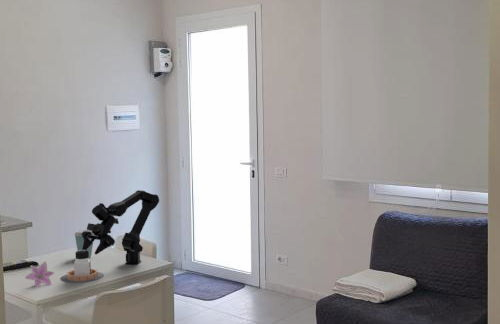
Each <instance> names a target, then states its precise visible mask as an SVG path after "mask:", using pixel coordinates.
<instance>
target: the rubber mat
mask: <svg viewBox="0 0 500 324" xmlns="http://www.w3.org/2000/svg"><path fill="white" fill-rule="evenodd" d="M104 276H105V275H104V273H102V272H99V271H98V277H96V278H95V279H91V280H87V281H71V280H67V273H66V274H64V275H62V276H61V277H60V278H59V279H60V281H61V282H63V283H66V284H67V283H69V284H83V283H84V284H85V283H92V282H96V281H99V280H101V279H103V278H104Z"/></svg>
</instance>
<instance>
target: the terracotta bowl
mask: <svg viewBox="0 0 500 324" xmlns="http://www.w3.org/2000/svg"><path fill="white" fill-rule="evenodd" d="M98 272H99V271H98V270H97V269H95V268H91V274H90V275H84V276H75V273H74V269H72V270H69V271H67V272H66V274H67V280H71V281H87V280H91V279H95V278H96V277H98Z"/></svg>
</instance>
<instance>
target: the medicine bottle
mask: <svg viewBox="0 0 500 324" xmlns="http://www.w3.org/2000/svg"><path fill="white" fill-rule="evenodd" d="M91 265H92V264H91V258H89V252H88V251H87V250H79V251H77V250H76V251H75V260H74V263H73V267H74V268H73V270H74V273H75V276H84V275H90V274H91V269H92V268H91Z"/></svg>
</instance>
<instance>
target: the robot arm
mask: <svg viewBox="0 0 500 324" xmlns="http://www.w3.org/2000/svg"><path fill="white" fill-rule="evenodd" d="M139 201H141V209H140V211H139V213H138V215H137V217H136V220H135V221H134V224H133V225H132V228H131V230H130V231H129V232H125V233H124V236H123V237H122V238H121V240H122V241H121V245H122V248H123V250H124V252H126V253H125V265H139V264H140V263H142V259H141V252H142V251H143V249H144V247H143V246H142V245H141V244H140V242H141V237H140V235H141V232H142V230H143V229H144V227H145V224H146V221H147V220H148V218H149V216H150V214H151V212H152V211H153V210H154V209H155V208H156V207H157V206H158V204H160V198H159V196H158V194H154V193H153V194H152V193H149V192H147V191H146V190H140V189H138V190H135V192H134V193H132V194H130V195H129V196H128V197H126V198H124V199H123V200H121V201H118V202H114V203H111V204H110V205H108V206H107V207H106V205H105V204H104V203H103V202H102V203H101V202H100V203H99V204H97V205H96V206H94V207H92V210H91V213H92V215H93V216H95V217H96V219H97V220H99V221H101V222H100V223H99V222H97V223H96V224H94V223H90V222H88V223H87V226H86V230H90V231H92V233H93V234H94V235H93V234H92V233H91V232H89V231H83V233H82V234H81V235H82V237H83V238H84V243H83V248H82V250H86V249H87V248H88V247H90V246H91V245H92V244H94V242H95V240H97V241H99V243H98V245H97V247H96V249H95V251H94V255H96V256H97V255H98V254H100V253H101V252H103V251H104V250H106V249H108V248H110V247H113V246H114V245H115V243H116V239H114V238H113V236H111V235H110V234H111V233H112V231H111V230H112V228H113V227H114V225H119V217H120V218H121V217H122V216H124V214H125V213H127V210H128V209H129V208H131V207H132V206H133V205H135V204H136V203H138V202H139ZM117 217H118V218H117Z"/></svg>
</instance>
